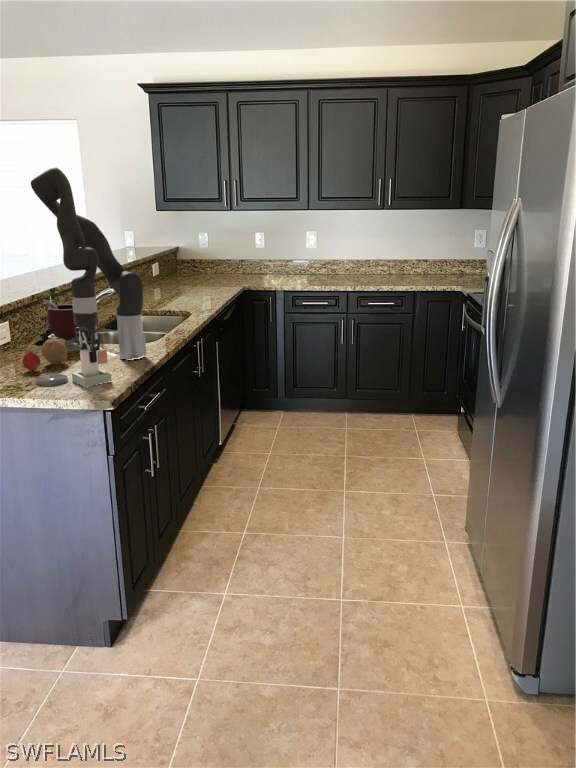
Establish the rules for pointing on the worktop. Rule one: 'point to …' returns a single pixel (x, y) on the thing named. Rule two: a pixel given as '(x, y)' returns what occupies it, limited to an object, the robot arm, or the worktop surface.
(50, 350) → the natural sponge
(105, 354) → the jug
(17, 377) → the worktop surface
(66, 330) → the mate gourd
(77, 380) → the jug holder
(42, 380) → the coaster
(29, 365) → the onion
